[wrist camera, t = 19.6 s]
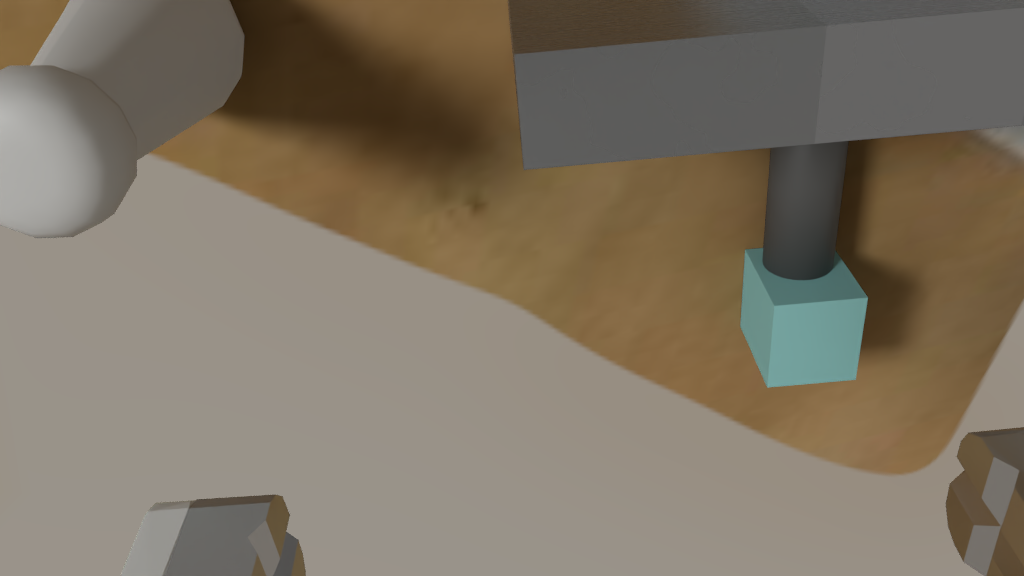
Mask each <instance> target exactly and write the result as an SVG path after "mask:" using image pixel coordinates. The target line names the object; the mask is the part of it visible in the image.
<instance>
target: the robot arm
mask: <svg viewBox="0 0 1024 576" xmlns="http://www.w3.org/2000/svg"><path fill="white" fill-rule="evenodd" d="M957 458H958V460H959V462H960V463H961V465H962V467H963V468H964V471H963V472H962V473H961V474H960V475H959V476H958V477H957V478H955V479H954V480H953V481H952V482H951V483H950V485H949V490H948V495H947V500H946V512H947V521H948V528H949V530H950V533H951V536H952V539H953V542H954V545H955V547H956V548H957V550H958V552H959V554H960V556H961V558H962V560H963V562H964V563H966V564H967V565H969V566H970V567H972V568H973V569H975V570H976V571H978V572H979V573H981V574H982V575H984V576H1024V427H1022V428H1012V429H1001V430H991V431H981V432H971V433H968V434H967V435H966V436H965V437H964V438H963V440H962V441H961V443H960V446H959V450H958V454H957ZM289 516H290V514H289V512H288V509H287V507H286V504H285V502H284V499H283V496H279V495H262V496H247V497H230V498H214V499H199V500H195V501H179V502H163V503H155V504H154V505H153V506H152V507H151V508H150V509H149V510H148V512H147V513H146V514H145V516H144V519H143V521H142V524H141V526H140V529H139V531H138V534H137V536H136V539H135V541H134V543H133V546H132V549H131V551H130V554H129V556H128V558H127V561H126V563H125V566H124V568H123V571H122V573H121V576H306V571H305V564H304V558H303V553H302V550H301V547H300V544H299V541H298V539H296V538H295V537H293V536H292V535H290V534H289V533H287V532H286V530H287V526H288V521H289Z"/></svg>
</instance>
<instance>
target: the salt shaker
mask: <svg viewBox="0 0 1024 576" xmlns="http://www.w3.org/2000/svg"><path fill="white" fill-rule="evenodd" d="M244 38H245V35H244V33H243V31H242V28H241V26H240V24H239V21H238V19H237V17H236V14H235V12H234V10H233V7H232V5H231V2H230V0H70V1H69V3H68V4H67V6H66V8H65V10H64V12H63V14H62V15H61V17H60V18H59V20H58V22H57V23H56V25H55V27H54V28H53V30H52V31H51V33H50V35H49V36H48V38H47V39H46V41H45V43H44V44H43V46H42V48H41V49H40V51H39V52H38V54H37V56H36V57H35V59H34V60H33V62H32V64H31V65H30V66H8V67H6V68H4V69H2V70H0V225H1V226H4V227H7V228H10V229H12V230H15V231H18V232H21V233H24V234H26V235H29V236H32V237H35V238H56V237H74V236H75V235H78V234H79V233H82V232H84V231H86V230H88V229H90V228H92V227H94V226H96V225H97V224H100V223H102V222H103V221H104V220H106V219H107V218H109V217H110V216H112V215H113V214H114V213H115V212H116V210H117V208H118V207H119V205H120V203H121V202H122V200H123V198H124V197H125V195H126V193H127V191H128V189H129V188H130V186H131V184H132V183H133V181H134V179H135V178H136V176H137V160H138V159H140V158H142V157H143V156H144V155H146V154H148V153H149V152H151V151H153V150H154V149H156V148H157V147H159V146H160V145H162V144H164V143H165V142H167V141H168V140H170V139H171V138H173V137H175V136H176V135H178V134H179V133H181V132H183V131H184V130H186V129H187V128H189V127H190V126H192V125H194V124H195V123H197V122H198V121H200V120H201V119H203V118H205V117H206V116H208V115H209V114H211V113H213V112H214V111H216V110H217V109H219V108H220V107H222V106H223V105H224V104H225V102H226V101H227V99H228V97H229V96H230V94H231V92H232V91H233V89H234V88H235V86H236V84H237V83H238V81H239V79H240V78H241V75H242V68H243V53H244Z"/></svg>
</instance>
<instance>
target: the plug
mask: <svg viewBox="0 0 1024 576" xmlns="http://www.w3.org/2000/svg"><path fill="white" fill-rule="evenodd" d="M848 143H849V141H841V142H830V143H819V144H807V145H796V146H785V147H774V148H771V152H770V165H769V179H768V192H767V205H766V219H765V232H764V245H763V248H757V249H746V250H745V262H744V277H743V293H742V309H741V325H740V327H741V329H742V331H743V333H744V336H745V338H746V340H747V342H748V345H749V347H750V349H751V352H752V354H753V356H754V358H755V361H756V363H757V365H758V367H759V370H760V372H761V374H762V376H763V379H764V381H765V383H766V385H767V387H778V386H789V385H801V384H812V383H824V382H835V381H846V380H856V374H857V367H858V360H859V354H860V347H861V341H862V334H863V327H864V321H865V314H866V308H867V301H868V297H867V295H866V294H865V293H864V291H863V290H862V288H861V287H860V285H859V284H858V282H857V281H856V279H855V278H854V277H853V275H852V274H851V272H850V271H849V269H848V268H847V266H846V265H845V263H844V262H843V261H842V259H841V258H840V256H839V255H838V253H837V252H836V250H835V247H836V239H837V231H838V223H839V215H840V207H841V199H842V191H843V183H844V175H845V167H846V159H847V151H848Z"/></svg>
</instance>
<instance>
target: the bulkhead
mask: <svg viewBox="0 0 1024 576" xmlns="http://www.w3.org/2000/svg"><path fill="white" fill-rule="evenodd" d="M508 7H509V19H510V31H511V42H512V52H513V62H514V73H515V83H516V94H517V104H518V114H519V125H520V135H521V145H522V156H523V166H524V170H527V169H538V168H550V167H561V166H572V165H583V164H594V163H606V162H617V161H628V160H639V159H651V158H662V157H673V156H684V155H695V154H707V153H718V152H729V151H740V150H751V149H763V148H774V147H785V146H796V145H807V144H819V143H830V142H841V141H852V140H863V139H875V138H886V137H897V136H908V135H920V134H931V133H942V132H953V131H964V130H976V129H987V128H998V127H1009V126H1020V125H1024V0H508Z"/></svg>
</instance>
